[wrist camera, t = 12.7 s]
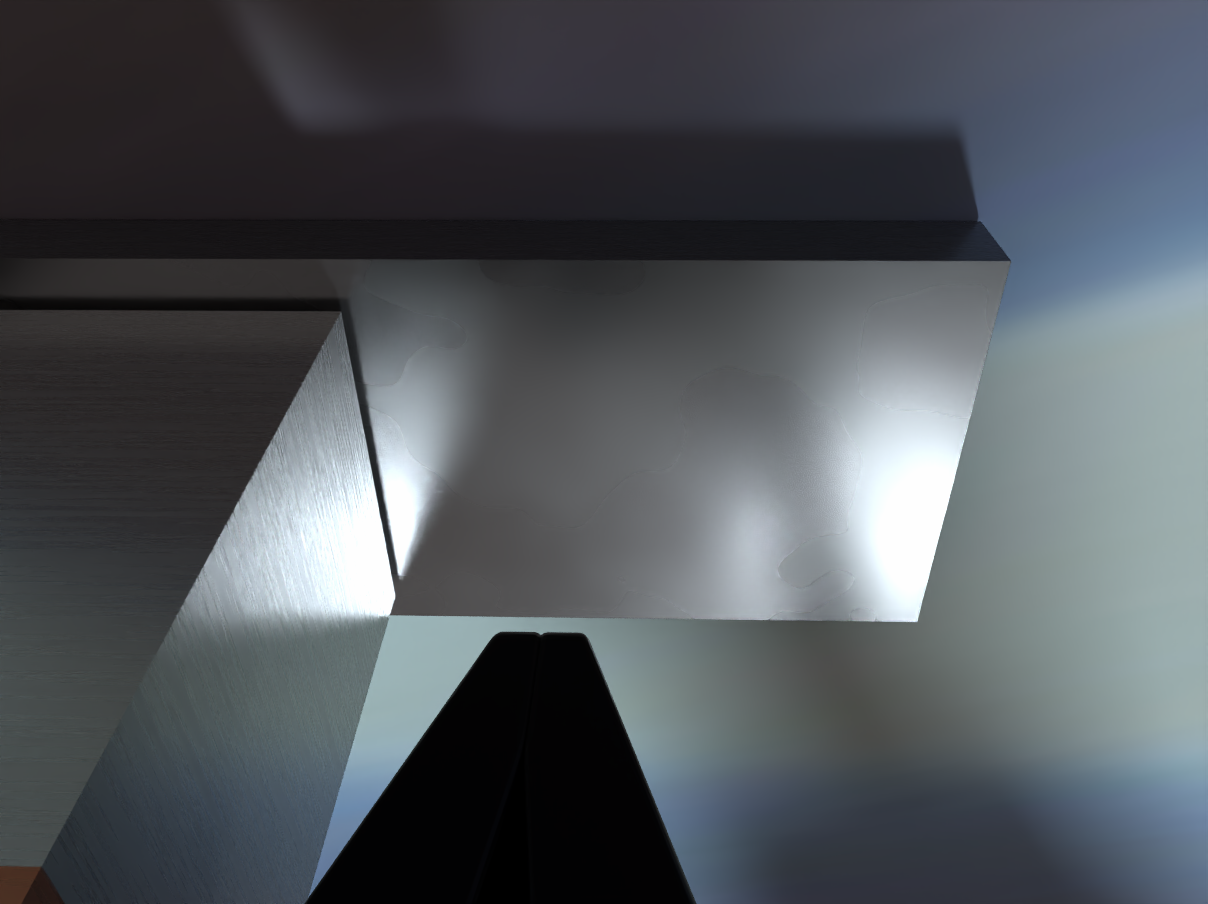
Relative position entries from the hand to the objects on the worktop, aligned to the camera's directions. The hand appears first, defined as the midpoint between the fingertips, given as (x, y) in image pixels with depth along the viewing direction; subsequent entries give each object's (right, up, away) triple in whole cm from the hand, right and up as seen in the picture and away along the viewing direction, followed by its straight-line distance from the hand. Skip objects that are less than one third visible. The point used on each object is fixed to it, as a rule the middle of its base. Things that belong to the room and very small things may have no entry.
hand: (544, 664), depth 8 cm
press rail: (-1, +2, +3) cm, 4 cm away
